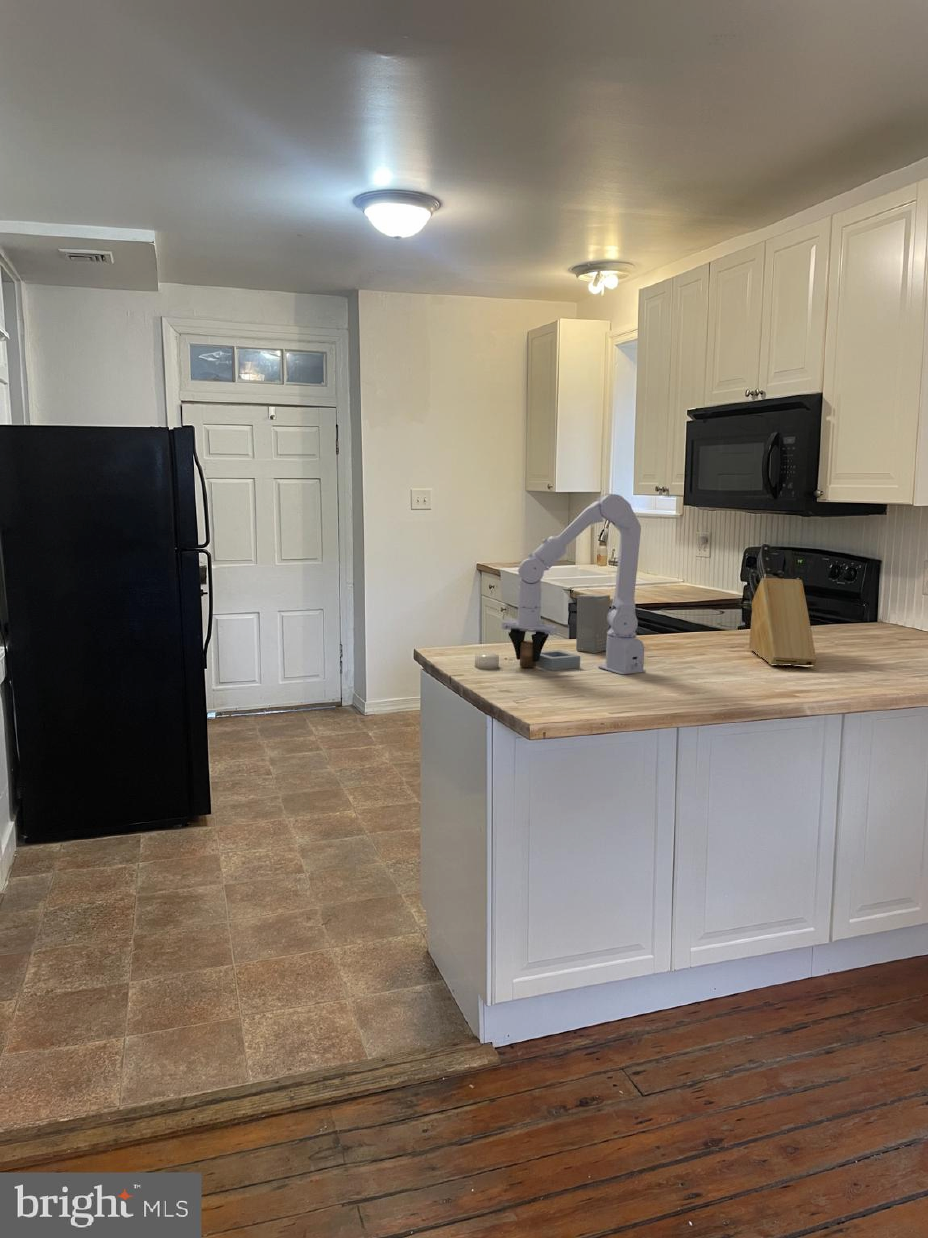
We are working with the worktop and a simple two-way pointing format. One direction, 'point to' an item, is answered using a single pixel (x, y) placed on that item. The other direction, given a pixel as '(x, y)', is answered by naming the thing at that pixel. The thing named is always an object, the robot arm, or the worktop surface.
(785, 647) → the knife block
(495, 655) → the ivory rounded cylinder
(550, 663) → the socket board
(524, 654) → the walnut dowel
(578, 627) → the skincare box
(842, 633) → the worktop surface
